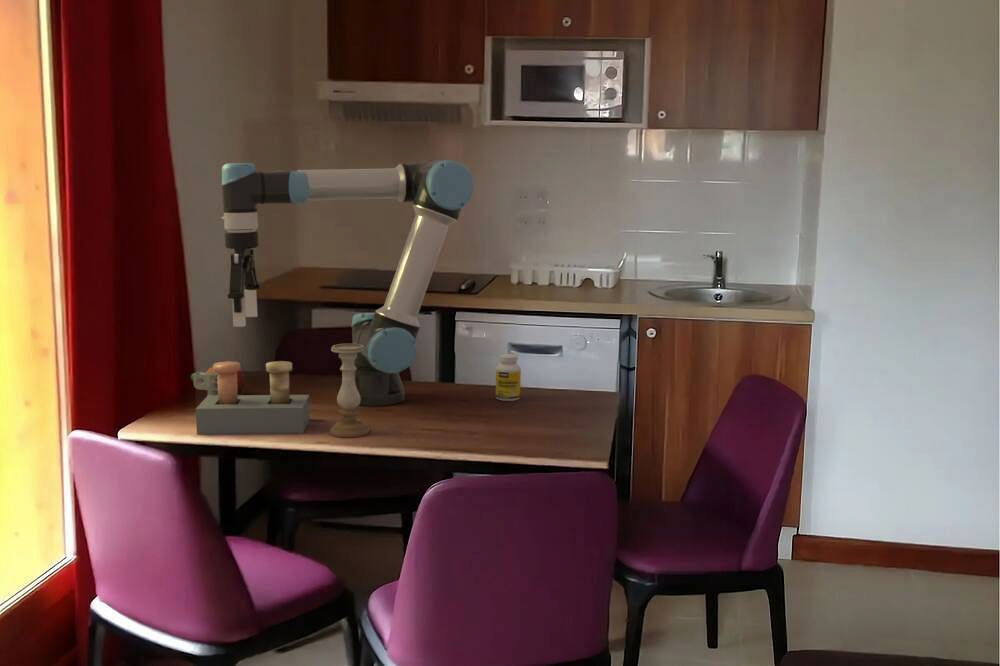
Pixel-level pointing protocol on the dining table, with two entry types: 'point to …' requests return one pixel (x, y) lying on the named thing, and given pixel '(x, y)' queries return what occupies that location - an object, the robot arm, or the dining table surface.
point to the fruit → (239, 378)
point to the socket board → (252, 415)
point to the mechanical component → (206, 382)
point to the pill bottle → (508, 378)
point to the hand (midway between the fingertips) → (245, 321)
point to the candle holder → (348, 394)
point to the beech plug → (279, 381)
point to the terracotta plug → (227, 381)
